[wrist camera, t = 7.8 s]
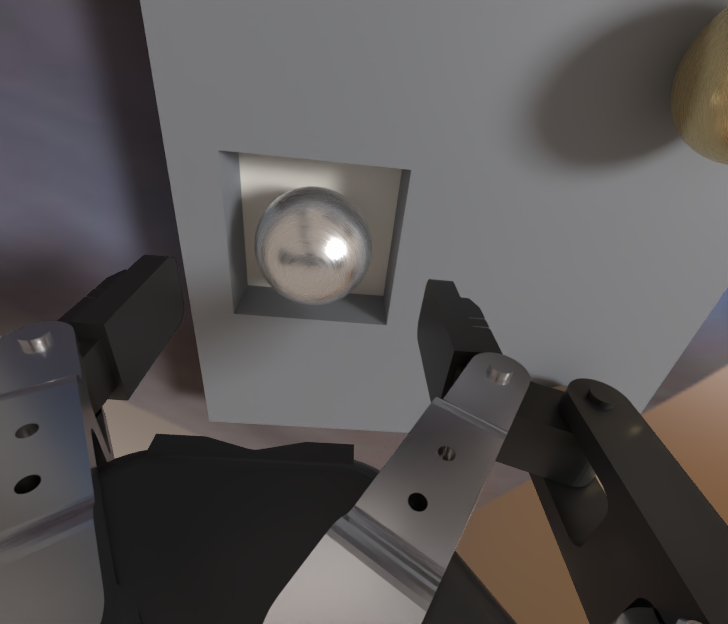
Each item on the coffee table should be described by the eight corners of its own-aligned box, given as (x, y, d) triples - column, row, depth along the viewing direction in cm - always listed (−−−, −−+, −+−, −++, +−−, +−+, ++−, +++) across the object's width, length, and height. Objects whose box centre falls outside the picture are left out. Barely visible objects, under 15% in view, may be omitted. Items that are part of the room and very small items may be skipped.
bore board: (166, -113, 12) (113, -161, 9) (836, -17, 13) (949, -36, 11) (226, 380, 22) (209, 421, 20) (591, 404, 24) (619, 444, 21)
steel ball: (265, 167, 16) (235, 202, 12) (376, 178, 16) (382, 215, 12) (268, 268, 18) (245, 323, 14) (365, 276, 18) (367, 332, 15)
